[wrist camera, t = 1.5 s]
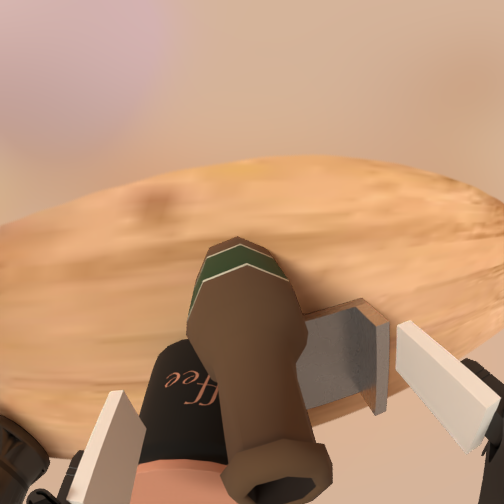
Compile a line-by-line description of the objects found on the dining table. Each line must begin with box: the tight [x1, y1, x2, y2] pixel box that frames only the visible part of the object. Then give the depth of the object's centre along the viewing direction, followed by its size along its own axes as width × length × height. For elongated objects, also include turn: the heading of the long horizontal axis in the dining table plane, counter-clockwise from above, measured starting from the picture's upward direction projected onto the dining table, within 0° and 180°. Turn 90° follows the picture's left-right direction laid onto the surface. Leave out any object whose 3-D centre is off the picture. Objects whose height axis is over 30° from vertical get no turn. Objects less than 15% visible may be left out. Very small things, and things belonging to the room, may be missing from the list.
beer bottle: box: [186, 236, 333, 504], centre depth 18 cm, size 8×8×24 cm
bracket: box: [296, 298, 389, 416], centre depth 30 cm, size 13×13×6 cm
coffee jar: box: [130, 339, 238, 504], centre depth 24 cm, size 11×11×18 cm
